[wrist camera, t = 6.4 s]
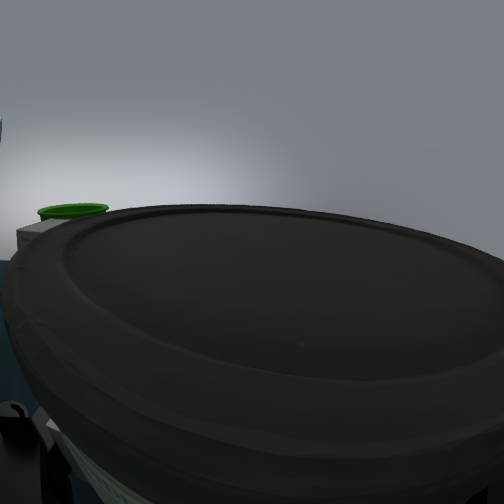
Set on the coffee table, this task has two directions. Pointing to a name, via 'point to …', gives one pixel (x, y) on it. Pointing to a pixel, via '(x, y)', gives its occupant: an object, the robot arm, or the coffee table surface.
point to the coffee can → (263, 355)
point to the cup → (71, 211)
